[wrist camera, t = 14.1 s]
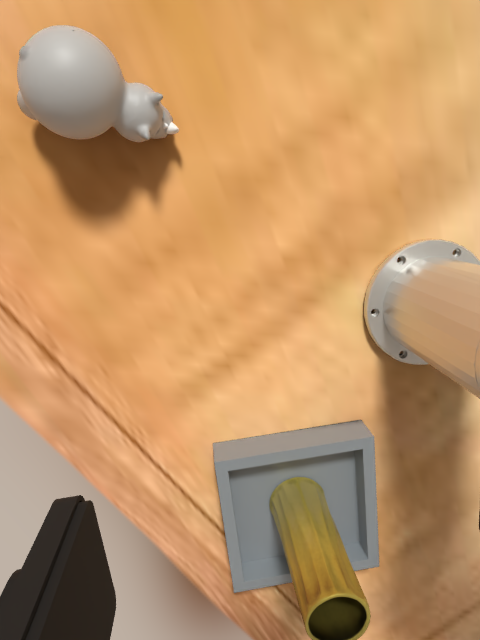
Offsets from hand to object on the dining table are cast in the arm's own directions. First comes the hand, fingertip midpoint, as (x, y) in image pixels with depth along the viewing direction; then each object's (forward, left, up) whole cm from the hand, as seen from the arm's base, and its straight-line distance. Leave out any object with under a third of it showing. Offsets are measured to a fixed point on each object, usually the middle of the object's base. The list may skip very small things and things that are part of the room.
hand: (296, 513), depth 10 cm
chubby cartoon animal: (+7, -16, -33) cm, 37 cm away
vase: (-5, +25, -32) cm, 40 cm away
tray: (-5, +25, -32) cm, 41 cm away
